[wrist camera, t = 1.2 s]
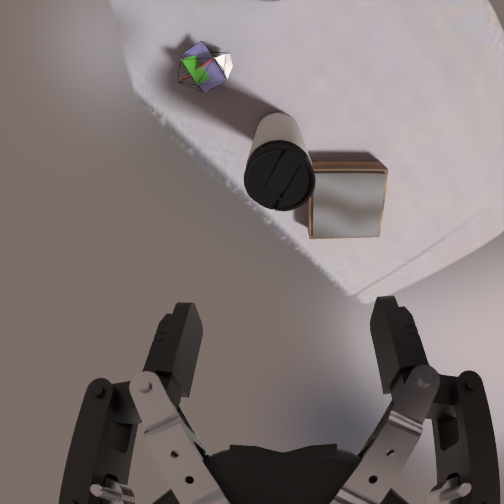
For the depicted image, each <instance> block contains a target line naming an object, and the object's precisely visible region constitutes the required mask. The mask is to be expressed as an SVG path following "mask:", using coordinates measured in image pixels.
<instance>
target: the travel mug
mask: <svg viewBox="0 0 504 504" xmlns="http://www.w3.org/2000/svg"><path fill="white" fill-rule="evenodd" d="M315 182H316V178H315V173H314V170H313V167H312V163H311V160H310V157H309V154H308V151H307V148H306V145H305V143H304V140H303V137H302V135H301V132H300V129H299V127H298V125H297V123H296V121H295V120H294V119H293V118H292V117H291V116H289V115H287V114H285V113H280V112H275V113H270V114H268V115H266V116H265V117H263V118H262V120H261V121H260V122H259V124H258V127H257V130H256V133H255V137H254V140H253V143H252V147H251V150H250V154H249V157H248V161H247V165H246V170H245V173H244V185H245V188H246V191H247V193H248V195H249V196H250V197H251V198H252V199H253V200H254V201H256V202H258V203H259V204H260V205H262V206H264V207H266V208H269V209H275V210H277V211H289V210H293V209H296V208H298V207H300V206H302V205H303V204H304V203H306V202H307V201H308V200H309V198H310V197H311V196H312V194H313V192H314V189H315Z"/></svg>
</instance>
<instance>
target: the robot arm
mask: <svg viewBox="0 0 504 504" xmlns="http://www.w3.org/2000/svg"><path fill="white" fill-rule="evenodd" d="M262 1H278V0H262ZM370 331H371V336H372V340H373V344H374V349H375V353H376V358H377V363H378V368H379V373H380V378H381V383H382V389H383V394H389V393H391V395H392V401H391V402H390V404H389V406H388V407H387V409H386V411H385V413H384V414H383V416H382V418H381V420H380V421H379V423H378V425H377V426H376V428H375V430H374V431H373V432H372V434H371V435H370V437H369V438H368V440H367V441H366V443H365V444H364V445H363V447H362V448H361V449H360V451H359V452H358V454H357V455H356V454H354V453H352V452H349V451H347V450H343V449H338V448H337V444H327V445H313V446H308V447H304V448H300V449H297V450H293V451H289V452H277V451H272V450H269V449H264V448H261V447H257V446H242V445H230V449H229V450H224V451H220V452H218V453H215V454H213V455H211V454H210V453H209V451H208V450H207V448H206V447H205V446H204V444H203V443H202V441H201V440H200V439H199V437H198V436H197V434H196V432H195V431H194V429H193V427H192V426H191V424H190V422H189V420H188V419H187V417H186V415H185V413H184V412H183V410H182V408H181V406H180V405H179V404H180V399H181V397H188V398H189V395H190V390H191V386H192V381H193V376H194V371H195V367H196V363H197V358H198V354H199V349H200V345H201V340H202V336H203V327H202V323H201V320H200V317H199V314H198V311H197V309H196V306H195V304H194V303H177V304H176V305H175V308H174V311H173V314H166V315H165V317H164V318H163V319H162V320H161V322H160V323H159V326H158V328H157V331H156V334H155V337H154V341H153V342H152V346H151V348H150V351H149V354H148V357H147V360H146V363H145V366H144V369H143V371H142V372H141V373H138V374H137V375H135V376H134V377H133V378H132V380H131V381H128V382H122V383H115V384H111V383H110V382H109V381H108V380H107V379H104V378H98V379H95V380H94V381H92V382H91V383H90V384H89V386H88V388H87V390H86V393H85V396H84V400H83V403H82V406H81V409H80V412H79V416H78V419H77V423H76V426H75V430H74V434H73V437H72V441H71V445H70V449H69V453H68V457H67V462H66V466H65V471H64V476H63V481H62V486H61V491H60V497H59V504H135V496H134V493H133V491H132V490H131V489H130V488H129V487H128V486H127V484H128V477H129V471H130V465H131V459H132V453H133V448H134V443H135V438H136V432H137V428H138V423H143V424H144V427H145V430H146V431H145V432H144V435H145V439H146V441H147V443H148V445H149V447H150V449H151V451H152V454H153V456H154V458H155V460H156V462H157V464H158V466H159V467H160V469H161V471H162V473H163V475H164V477H165V479H166V480H167V482H168V484H169V486H170V488H171V489H170V490H169V491H168V492H166V493H165V494H164V495H163V496H161V497H160V498H159V499H157V500H156V501H155V502H154V503H153V504H409V503H408V502H406V501H405V500H404V499H403V498H402V497H401V496H400V495H399V494H398V493H397V492H396V491H395V490H393V489H392V488H391V487H392V485H393V484H394V482H395V481H396V479H397V477H398V476H399V474H400V472H401V471H402V469H403V468H404V466H405V464H406V462H407V460H408V459H409V457H410V455H411V453H412V452H413V450H414V448H415V446H416V444H417V442H418V440H419V438H420V436H421V434H422V430H423V429H422V425H423V422H424V420H425V418H426V419H432V426H433V434H434V443H435V453H436V466H437V485H436V486H434V487H433V488H432V489H431V491H430V493H429V495H428V499H427V504H500V480H499V467H498V458H497V450H496V443H495V436H494V430H493V425H492V420H491V415H490V410H489V406H488V402H487V397H486V393H485V390H484V386H483V382H482V379H481V377H480V376H479V375H478V374H477V373H476V372H474V371H464V372H462V373H461V374H460V375H459V377H454V376H446V375H441V374H438V372H437V371H436V370H435V369H434V368H433V367H431V366H430V365H429V363H428V361H427V358H426V355H425V351H424V348H423V345H422V342H421V339H420V336H419V335H418V330H417V328H416V326H415V322H414V319H413V316H412V314H411V313H410V312H409V311H408V310H407V309H406V308H405V307H398V304H397V301H396V299H395V297H394V296H382V297H377V299H376V302H375V305H374V309H373V313H372V316H371V320H370Z"/></svg>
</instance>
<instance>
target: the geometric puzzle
mask: <svg viewBox="0 0 504 504" xmlns="http://www.w3.org/2000/svg"><path fill="white" fill-rule="evenodd" d="M204 42H205V41H204ZM204 42H203V40H202V41H201V42H199V43H198V44H196V45H195V46H194V47H192V48H191V49H189V50H188V51H186V52H185V53H184V54H182V55H180V56H181V57H182V59H181V58H180V60H181V61H182V63H183V64H184V66H185V67H186V69H187V70H188V72H189V74H188V75H187V76H185V77H184V78H182V79H181V80H180V81H182V80H184V79H187V78H189V77H192V78H193V80H194V82H195V83H196V86H198V85H200V87H201V89H202V90H203V92H204V94H205V92H207V91H209V90H211V89H212V88H214V87H216V86H218V85H219V84H221V83H223V82H225V81H228V80H227V79H228V77H229V75H230V72H231V70H232V67H233V65H232V61H231V57H230V53H225V54H223V55H220V56H217V57H213V55H212V54H211V52H210V51H209V49H208V48H207V46H206V45H205V43H204ZM215 47H216V46H215ZM217 48H218V47H217ZM219 49H220V48H219ZM216 53H222V52H216ZM216 61H217V62H218V63H219V64H220V66H221V67H222V68H223V69H224V71H225V75H226V77H225V75H224V73H223V72H224V71H223V72H222V70H221V68H220V67H219V65H218V63H217V62H216ZM180 64H181V62H180ZM179 67H180V65H179ZM179 70H180V69H179ZM178 77H179V73H178ZM226 78H227V79H226ZM177 82H179V81H177ZM179 83H181V84H182V83H183V82H179ZM187 84H189V83H187ZM192 85H195V84H192ZM186 86H187V85H186ZM198 87H199V86H198ZM200 87H199V88H200ZM191 88H192V87H191ZM198 91H199V90H198Z"/></svg>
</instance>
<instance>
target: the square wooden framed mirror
mask: <svg viewBox="0 0 504 504" xmlns="http://www.w3.org/2000/svg"><path fill="white" fill-rule="evenodd" d="M311 163H312V167H313V170H314V173H315V178H316V182H315V189H314V192H313V194H312V196H311V197H310V198H309V200H308V233H309V239H328V238H360V237H379V234H380V228H381V222H382V215H383V208H384V201H385V193H386V184H387V175H388V169H387V168H386V167H385V166H384V165H383V164H382V163H381V162H373V161H311Z"/></svg>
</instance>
